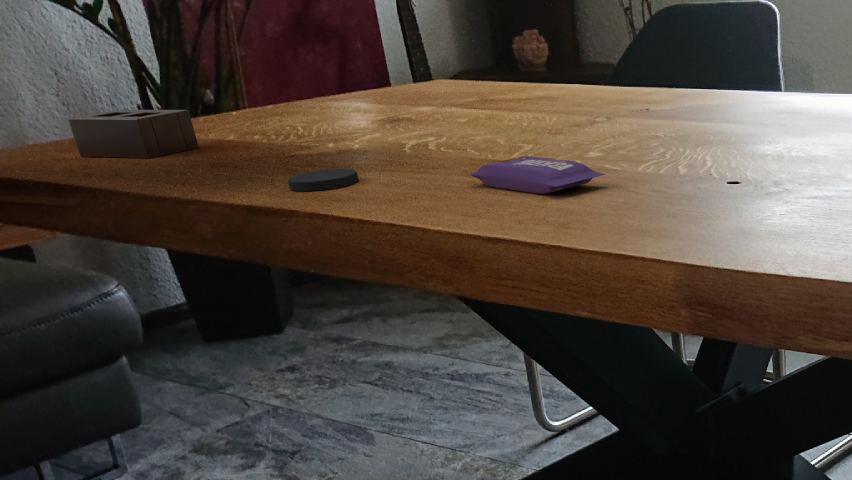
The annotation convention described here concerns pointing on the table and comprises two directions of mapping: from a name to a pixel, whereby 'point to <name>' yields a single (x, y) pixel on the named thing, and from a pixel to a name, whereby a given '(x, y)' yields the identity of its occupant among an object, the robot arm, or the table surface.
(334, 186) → the coaster
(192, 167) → the table surface
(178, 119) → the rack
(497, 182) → the snack package
